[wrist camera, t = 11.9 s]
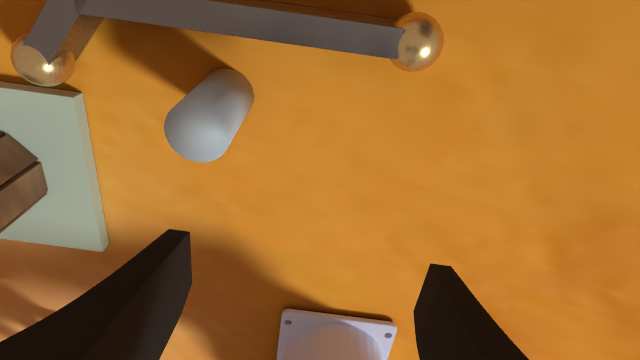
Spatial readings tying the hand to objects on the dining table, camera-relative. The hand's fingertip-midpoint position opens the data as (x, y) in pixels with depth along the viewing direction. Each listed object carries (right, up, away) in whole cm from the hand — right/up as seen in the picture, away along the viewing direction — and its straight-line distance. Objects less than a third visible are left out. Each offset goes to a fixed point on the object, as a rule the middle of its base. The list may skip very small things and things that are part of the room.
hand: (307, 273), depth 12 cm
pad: (-17, +4, +11) cm, 21 cm away
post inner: (-4, +7, +8) cm, 12 cm away
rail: (-4, +9, +7) cm, 12 cm away
